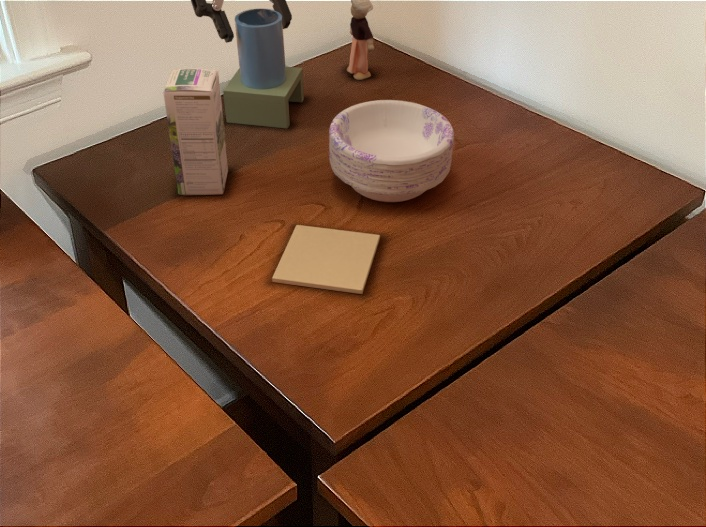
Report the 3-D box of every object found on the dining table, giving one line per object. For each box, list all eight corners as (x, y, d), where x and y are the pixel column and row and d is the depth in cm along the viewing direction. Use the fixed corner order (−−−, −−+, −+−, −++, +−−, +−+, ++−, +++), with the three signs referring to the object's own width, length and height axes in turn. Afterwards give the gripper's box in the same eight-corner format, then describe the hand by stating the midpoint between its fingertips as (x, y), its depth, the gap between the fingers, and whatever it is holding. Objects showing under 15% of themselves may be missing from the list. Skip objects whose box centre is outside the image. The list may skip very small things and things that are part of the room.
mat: (272, 282, 89) (271, 278, 88) (296, 228, 96) (296, 224, 96) (362, 294, 87) (362, 290, 87) (380, 238, 95) (380, 234, 94)
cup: (234, 87, 114) (227, 24, 108) (249, 67, 119) (243, 6, 113) (278, 91, 113) (274, 28, 107) (291, 71, 118) (287, 9, 112)
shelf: (226, 122, 116) (222, 90, 113) (246, 93, 123) (243, 62, 120) (287, 128, 115) (285, 96, 112) (304, 99, 122) (302, 67, 119)
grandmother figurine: (336, 68, 129) (334, -11, 121) (356, 62, 131) (355, -16, 123) (364, 87, 124) (364, 5, 116) (384, 80, 126) (385, -1, 118)
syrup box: (185, 171, 106) (168, 67, 97) (230, 170, 106) (218, 67, 97) (178, 196, 102) (160, 90, 93) (225, 195, 102) (212, 89, 93)
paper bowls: (475, 187, 103) (480, 132, 98) (381, 232, 96) (381, 174, 91) (397, 139, 112) (399, 86, 107) (306, 176, 105) (303, 121, 100)
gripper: (170, -83, 106) (216, 32, 105) (269, -100, 112) (313, 9, 111) (162, -52, 113) (205, 56, 112) (255, -70, 119) (296, 33, 118)
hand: (259, 33), depth 112 cm, fingers open, 8 cm apart
